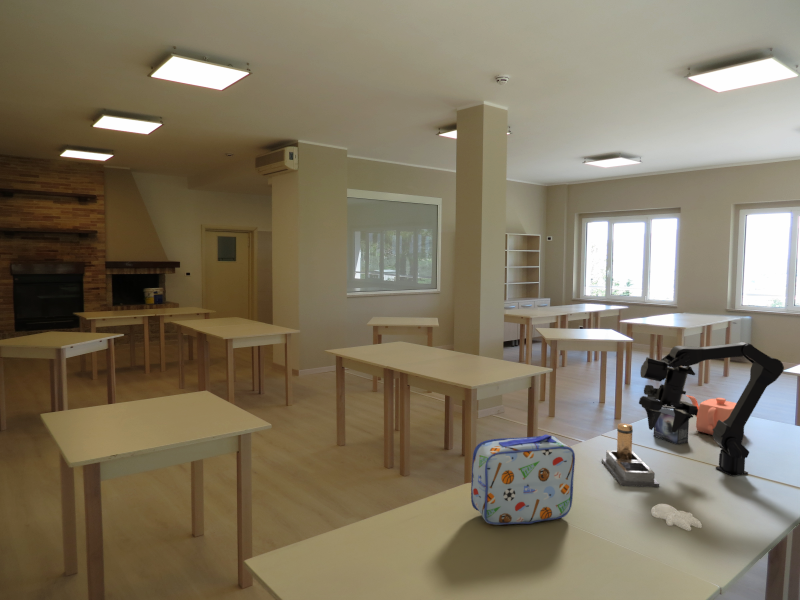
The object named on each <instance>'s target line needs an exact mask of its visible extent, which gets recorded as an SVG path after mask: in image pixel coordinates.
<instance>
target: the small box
mask: <svg viewBox="0 0 800 600" xmlns="http://www.w3.org/2000/svg"><path fill="white" fill-rule="evenodd" d="M659 411H660V412H661V414H660V416H659V418H658V420H657V422H656V424H655V426H654V428H653V434H652V435H653V437H656V438H658V439H661V440H663V441H667V442H669V443H671V444H675V445H682V444H687V443H689V426H690V424H689V423H690V419H689V420H688V421H686V422H685V423H684V424H683V425H682V426H681V427H680V428H679V429H678V430H677V431H676V432H675V433H674V432H672V426H673V422H674V417H675V414H674V410H673V409H669V408H662V409H661V410H659Z"/></svg>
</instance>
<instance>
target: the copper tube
mask: <svg viewBox="0 0 800 600" xmlns="http://www.w3.org/2000/svg"><path fill="white" fill-rule="evenodd" d="M616 430H617V434H616V435H617V436H616V437H617V439H616V451H617V459H625V460H632V451H633V432H634V431H633V425H632V424H630V423H629V424H628V423H623V422H622V423H617V428H616Z"/></svg>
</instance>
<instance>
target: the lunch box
mask: <svg viewBox="0 0 800 600" xmlns="http://www.w3.org/2000/svg"><path fill="white" fill-rule="evenodd" d="M471 463H472V464H471V465H472V466H471V485H470V486H471V487H470V491H471V493H470V499H471V500H470V501H471V505H472V507H473V508H474V509H475V510H476V511H478V512H479V514H480V515H481V517H482V518H483V520H484V521H485V523H487V524H489V525H513V524H515V525H516V524H527V525H529V524H534V523H537V522H544V521H552V520H558V519H562V518H564V517H566V516H567V515H568V514H569V512H570V510H571V508H572V506H573V505H572V504H573V496H574V481H575V480H574V476H575V465H576V464H575V463H576V454H575V451H574V449H573V447H571V446H569V445H567V444H565V443H563V442H562V441H560V440H559V438H557V437H556V436H554V435H549V434H543V435H537V436H528V437H527V436H526V437H524V436H523V437H505V438H504V437H503V438H493V439H487V440H484V441H481V442H480V443H478V444H477V445H476V447H475V448H474V450H473V453H472V462H471Z"/></svg>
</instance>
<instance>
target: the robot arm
mask: <svg viewBox="0 0 800 600" xmlns="http://www.w3.org/2000/svg"><path fill="white" fill-rule="evenodd" d="M737 357H743V358H744V359H746V360H747V361H748V362H750V363H751V367H750V375H749V376H750V377H749V380H748V383H747V384H746V385H745V388H744V389H743V391H742V393H741V395H740V396H739V398H738V401H737V402H735V403H736V405H735V407H734V409H733V411H732V412H731V414H730V416H729V418H728V419H726V420H725V421H723V422H722V421H720V420H718V421H717V424H716V426H715V428H714V429H712V430H713V431H714V432H713V435H712V439H713V440H714V442H715V443H717V445H718V447H719V449H720V453H719V454H718V455H719V456H718V457H719V458H718V466H715V469H716V470H718V471H721V472H722V473H726V474H727V475H729V476H732V477H735V476H742V475H743V476H744V475H748V474H749V471H746V470H745V465H746V459H747V458H748V456H749V454H750V450H748V449H747V447H745V446H744V444H742V443H743V440H744V437H745V426H746V424H747V422H748V421H749V418H750V417H751V415H752V413H753V412H754V410H755V409H756V406H757V405H758V402H759V401H760V399H761V398H762V396H763V394H764V392H765V391H766V389H767V387H769V386H770V385H771V384H773V383H775V382H776V381H777V379H778V378H779V377H780V376H781V375H782V374H783V372H784V371H785V370H784V369H785V366H784V364H783V362H782V360H780V359H779V358H775V357H772V356H769V355H767V354H766V353H764V352H762V351H761V350H759V349H758V348H757V347H755V346H754V345H753V344H751V343H749V342H744V341H740V342H736V343H728V344H727V343H726V344H718V345H707V346H689V345H675V346H673V347H672V349H671V350H670V351H669V353H668V354H666V355H665V356H663V358H661V359H654V358H652V357H648V356H647V357H645V361H644V362H643V363H642V365H641V366H640V377H641V378H643V379H647V380H652V381H656V382H662V381H664V383H663V384H662V383H661V384H660V385H659V387H657V388H655V387H654V386H653V385H651V384H645V385H644V388H643V394H644V395H642V396H641V397H639V401H638V404H639V405H641V407H642V408H643V409H644V410H645V412H646V417H647V423H648V424H647V425H648V429H649V430H650V431H653V430H654V426H655V424H656V422H657V420H658V418H659V416H660V414H661V412H660V411H659V410H661V409H662V408H667V409H670V410H674V414H675V417H674V422H673V426H672V432H674V433H675V432H676V431H677V430H678V429H679V428H680V427H681V426H682V425H683V424H684V423H685V422H686V421H688V420H689V421H690V419H692V418H694V416H695V415H696V416H697V413H698V408H697V406H694V405H692V403H690V402H687V401H682V397H683V395H687V391H685V385H686V381H687V379H688V375H691V376H695V375H696V372H695V371H694V370H693V368H692V366H693V365H697V364H699V363H701V362H704V361H705V362H706V361H709V360H710V361H711V360H719V359H720V360H721V359H728V358H737ZM696 416H695V417H696Z"/></svg>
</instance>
